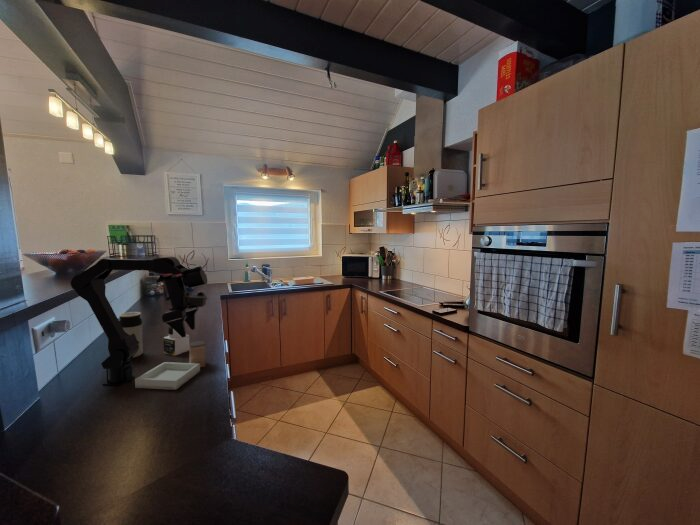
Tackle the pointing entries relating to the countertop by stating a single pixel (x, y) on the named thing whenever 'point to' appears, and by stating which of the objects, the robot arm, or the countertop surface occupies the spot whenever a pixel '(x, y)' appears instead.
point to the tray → (167, 375)
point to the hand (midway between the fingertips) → (189, 333)
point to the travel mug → (133, 327)
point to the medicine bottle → (175, 343)
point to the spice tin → (197, 353)
